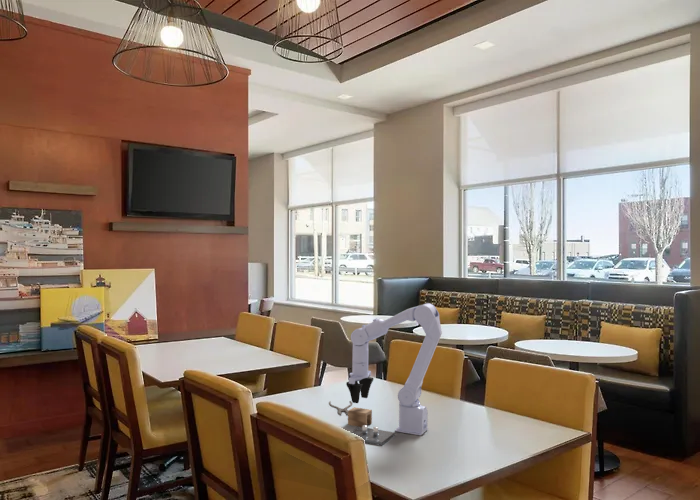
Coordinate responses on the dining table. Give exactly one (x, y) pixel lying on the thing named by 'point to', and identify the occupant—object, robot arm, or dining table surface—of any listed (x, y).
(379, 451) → the dining table surface
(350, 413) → the box
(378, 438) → the base plate
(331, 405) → the pliers
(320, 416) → the dining table surface
